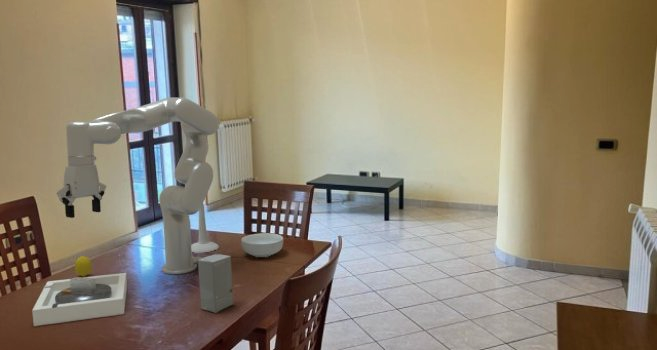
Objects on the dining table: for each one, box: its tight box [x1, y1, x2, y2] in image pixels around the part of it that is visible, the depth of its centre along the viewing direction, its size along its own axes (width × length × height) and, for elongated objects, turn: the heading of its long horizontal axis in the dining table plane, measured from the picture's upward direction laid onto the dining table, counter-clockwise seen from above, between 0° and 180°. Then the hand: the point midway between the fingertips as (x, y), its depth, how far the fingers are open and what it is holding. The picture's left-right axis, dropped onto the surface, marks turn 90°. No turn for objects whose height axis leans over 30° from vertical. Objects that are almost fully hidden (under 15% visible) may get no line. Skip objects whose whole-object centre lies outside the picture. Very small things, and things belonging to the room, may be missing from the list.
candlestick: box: [191, 203, 220, 254], centre depth 218 cm, size 13×13×30 cm
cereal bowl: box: [240, 232, 284, 258], centre depth 211 cm, size 17×17×7 cm
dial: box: [55, 276, 112, 304], centre depth 163 cm, size 16×16×6 cm
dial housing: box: [31, 272, 128, 327], centre depth 163 cm, size 24×24×5 cm
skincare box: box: [197, 253, 234, 314], centre depth 160 cm, size 8×7×16 cm
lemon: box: [74, 255, 92, 278], centre depth 187 cm, size 6×6×8 cm
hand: (83, 214), depth 166 cm, fingers open, 9 cm apart
